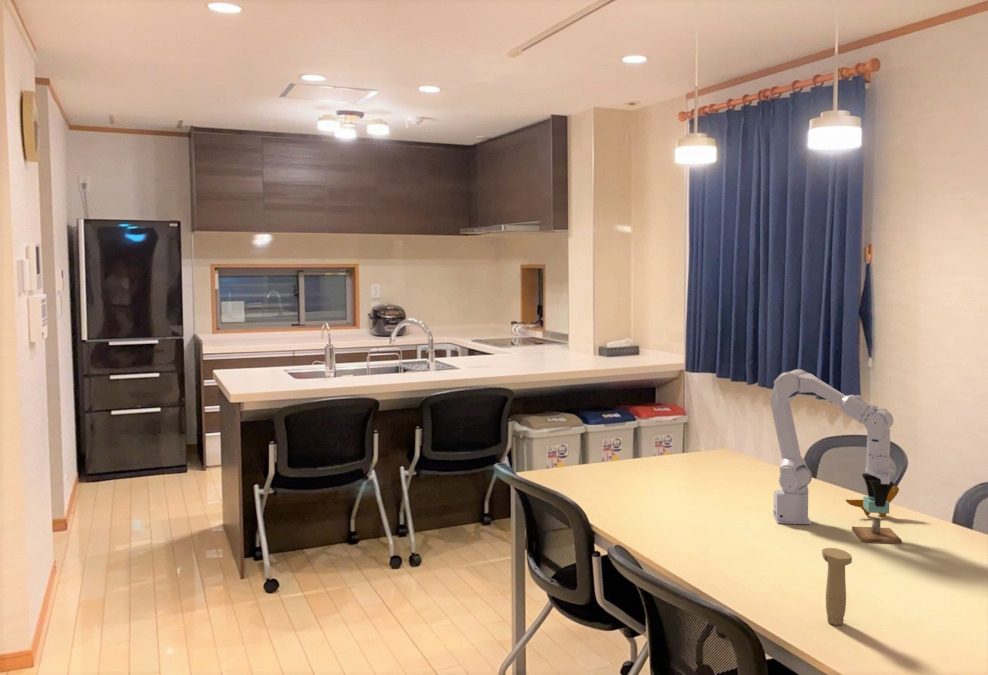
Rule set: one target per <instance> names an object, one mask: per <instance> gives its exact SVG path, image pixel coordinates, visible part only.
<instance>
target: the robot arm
mask: <svg viewBox="0 0 988 675" xmlns="http://www.w3.org/2000/svg"><path fill="white" fill-rule="evenodd" d="M800 393H803V394H804V393H813V394H816V395H817V396H819V397H821V398H823V399H825V400H827V401H829V402H831V403H833V404H835V405H837V406H838V407H839V409H840V412H841V413H843V414H845V415H846V416H848V417H850V418H851V419H853V420H854V421H857V422H858V423H860V424H862V425H864V427H865V429H866V431H867V432H866V433H867V436H866V455H865V456H866V462H865V466H866V467H865V469H864V471H865V472H864V473H861V476H862V478H863V480H864V482H865V485H866V489H867V495H868V496H867V497H874V500H875V505H876V506H877V507H884V506H885V503H886V500H887V496H888V494H889V491H890V490H891V488H892V487H893V486H894V482H893V481H891V475H893V474H895V471H894V470H893V469H890V464H891V463H890V461H891V460H890V458H891V457H890V456H891V429H890V428H891V427H892V426H893V424H894V417H893V415H892V413H891V412H890V411H888V410H887V409H886V408H878V407H879V406H877V405H876V404H874V405H873V404H870V403H869V402H867V401H865V400H863V398H862V396H861V395H860V394H856V395H855V394H849V395H846V394H844V393H842V392H840V391H839V390H837V389H835V388H834V387H833V386H831V385H830V384H828V383H826V382H824V381H823V380H821V379H819V378H818V377H816V376H815V375H814V374H813V373H809V372H807V371H805V369H800V368H797V369H793V370H791V371H787V372H786V371H785V372H782V373H781V374H779V375H778V377H776V379H775V380H773V389H772V391H771V394H770V397H769V398H770V399H769V402H770V408H771V413H772V417H773V422H774V428H775V431H776V437H777V442H778V445H779V451H780V457H781V461H780V465H779V477H778V483H779V485H780V487H781V489H774V491H773V512H772V516H773V517H774V519H775V521H776V523H778V524H786V525H787V524H789V525H791V524H792V525H793V524H794V525H812V521H811V520H810V518H809V488H808V486H809V484H810V483H811V481H812V479H813V475H812V471H811V470H810V469H809V468H808V465H807V462H806V459H804V457H803V456H802V455H801V450H800V445H799V441H798V440H799V439H798V436H797V432H796V426H795V422H794V417H793V416H794V415H793V413H792V407H791V403H792V402H793V400H794V399H795V397H796V396H797V395H798V394H800Z"/></svg>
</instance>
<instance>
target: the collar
mask: <svg viewBox="0 0 988 675" xmlns="http://www.w3.org/2000/svg"><path fill="white" fill-rule="evenodd" d="M862 500H863V507H864V508H865V509H866V510H867V511H868V513H870V514H879V513H886V514H890V503H889V502H888V501H887V500H886V503H885V506H884V507H877V506H876V505H875V500H874V497H869V496H863V499H862Z"/></svg>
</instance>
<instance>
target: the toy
mask: <svg viewBox="0 0 988 675" xmlns="http://www.w3.org/2000/svg"><path fill="white" fill-rule="evenodd" d="M899 491H900V488H899V487H898V486H895V485H893V487H892V488H891V490H890V491H889V494H888V496H887V501H888V502H889V504H890V503H891V502H892V501H893V500H894V499H895V498H896V496H897V495H898V494H899ZM845 502H846V503H847V504H848V505H850V506H853V507H857V508H861V510H862V511H863V512H864V515H865V516H867V517H869V516H870V514H871V513H868V511H867V510H866V509H865V508H864V507H863V499H845ZM878 515H880V516H881V517H884V518H887V513H878Z"/></svg>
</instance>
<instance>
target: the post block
mask: <svg viewBox="0 0 988 675" xmlns="http://www.w3.org/2000/svg"><path fill="white" fill-rule="evenodd" d="M871 520H872V521H871V522H872V525H871V526H851V530H852V532H853V533H854V534H856V535H855V536H856V537H857V538H858V540H860V542H861V543H872V542H882V543H881V544H897V543H902V541H903V540H902V539H901V538H900V536H898V535H897V534H896V533H895V531H894V530H892V529H891V528H890V527H881V521H882V520H881V518H880V517H872V519H871Z"/></svg>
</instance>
